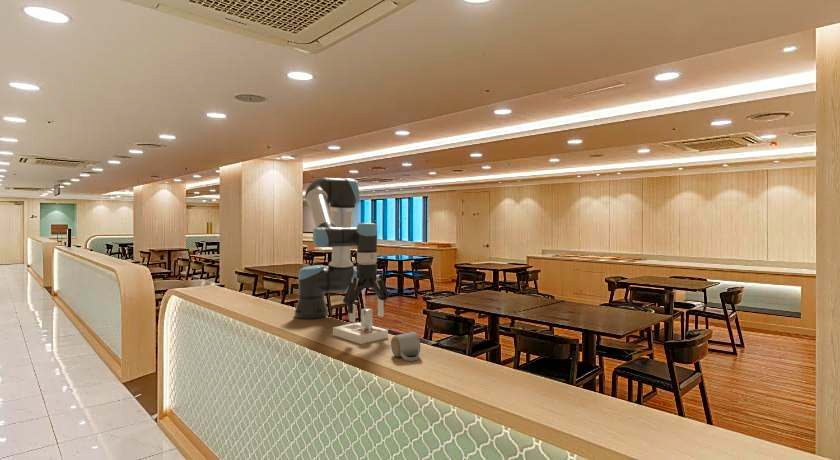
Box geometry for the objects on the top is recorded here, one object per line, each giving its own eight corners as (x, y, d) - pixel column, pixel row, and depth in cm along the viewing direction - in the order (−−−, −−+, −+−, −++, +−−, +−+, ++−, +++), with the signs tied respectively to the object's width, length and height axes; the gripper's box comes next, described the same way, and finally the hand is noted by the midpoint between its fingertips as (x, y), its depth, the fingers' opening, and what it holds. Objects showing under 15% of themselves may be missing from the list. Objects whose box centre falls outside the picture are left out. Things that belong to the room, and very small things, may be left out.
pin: (361, 337, 178) (361, 308, 178) (373, 337, 178) (373, 308, 178) (360, 340, 174) (360, 310, 173) (371, 340, 174) (371, 311, 173)
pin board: (332, 335, 181) (332, 326, 181) (359, 329, 190) (359, 321, 190) (360, 344, 168) (360, 335, 168) (387, 337, 177) (388, 329, 177)
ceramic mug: (389, 354, 155) (389, 331, 155) (411, 351, 159) (411, 329, 159) (402, 363, 146) (402, 339, 146) (425, 360, 150) (425, 337, 149)
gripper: (345, 266, 164) (345, 325, 164) (398, 262, 181) (397, 315, 182) (333, 264, 169) (333, 322, 170) (385, 260, 187) (385, 312, 187)
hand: (366, 319), depth 176 cm, fingers open, 13 cm apart
